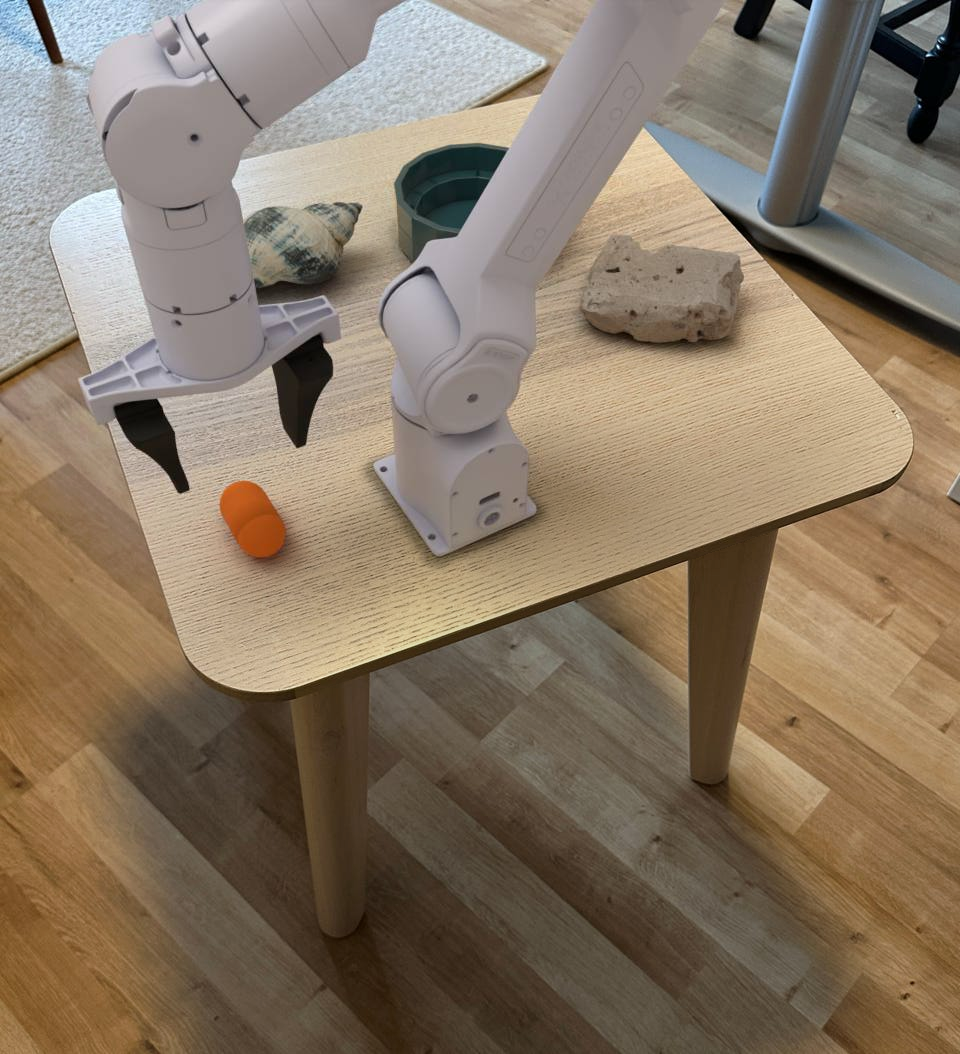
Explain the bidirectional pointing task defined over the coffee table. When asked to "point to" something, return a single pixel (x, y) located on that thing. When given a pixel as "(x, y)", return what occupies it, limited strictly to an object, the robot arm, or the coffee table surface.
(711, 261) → the stone
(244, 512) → the orange capsule pill
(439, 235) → the bowl
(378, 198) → the coffee table surface
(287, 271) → the seashell
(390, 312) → the robot arm
